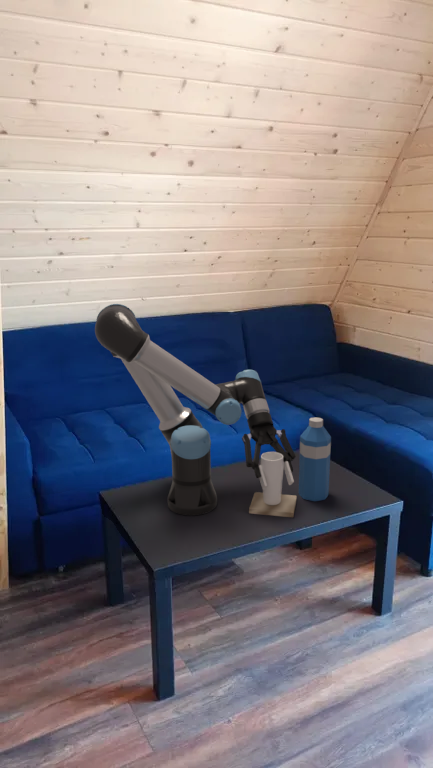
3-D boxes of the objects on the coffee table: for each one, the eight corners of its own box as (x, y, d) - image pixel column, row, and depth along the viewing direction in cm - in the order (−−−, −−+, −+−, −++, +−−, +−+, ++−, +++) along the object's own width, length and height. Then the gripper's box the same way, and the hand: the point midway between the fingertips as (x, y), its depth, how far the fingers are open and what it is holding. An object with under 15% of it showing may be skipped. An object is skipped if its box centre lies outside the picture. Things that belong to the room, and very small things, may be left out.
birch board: (249, 513, 173) (249, 508, 172) (254, 496, 183) (254, 492, 183) (293, 517, 170) (293, 512, 169) (296, 500, 180) (296, 495, 180)
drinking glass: (285, 498, 178) (286, 452, 174) (280, 508, 172) (280, 461, 168) (264, 495, 180) (264, 450, 176) (258, 505, 174) (257, 459, 170)
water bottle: (327, 488, 188) (330, 414, 181) (329, 501, 179) (333, 425, 172) (298, 487, 189) (300, 414, 182) (299, 500, 180) (301, 424, 173)
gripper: (285, 418, 187) (305, 484, 177) (224, 425, 181) (242, 494, 171) (292, 407, 181) (314, 475, 171) (229, 414, 175) (248, 486, 165)
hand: (278, 485), depth 171 cm, fingers open, 8 cm apart
